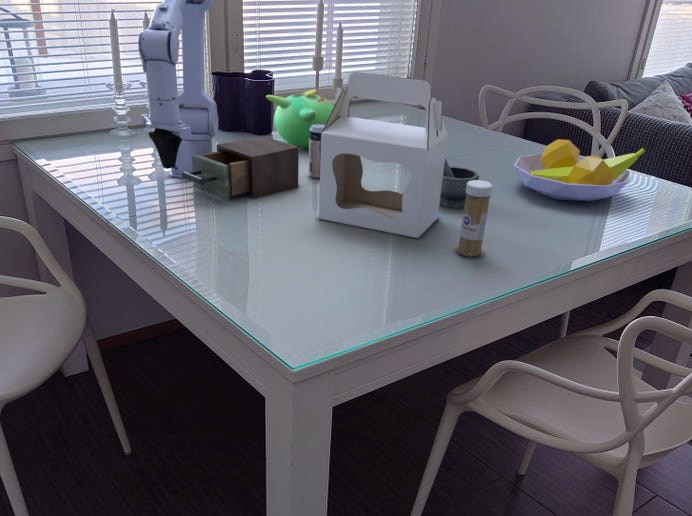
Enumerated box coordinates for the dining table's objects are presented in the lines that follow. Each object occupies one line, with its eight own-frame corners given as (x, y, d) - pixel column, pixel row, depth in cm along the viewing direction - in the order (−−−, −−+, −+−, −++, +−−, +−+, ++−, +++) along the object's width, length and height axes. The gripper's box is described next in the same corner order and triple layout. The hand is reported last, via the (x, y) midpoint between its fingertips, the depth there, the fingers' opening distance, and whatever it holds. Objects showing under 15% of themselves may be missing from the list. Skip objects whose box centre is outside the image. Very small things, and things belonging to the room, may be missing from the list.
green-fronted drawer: (207, 204, 146) (205, 170, 142) (176, 191, 152) (173, 157, 149) (269, 189, 156) (269, 156, 152) (237, 177, 163) (236, 145, 159)
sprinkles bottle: (452, 252, 131) (462, 182, 124) (465, 246, 134) (475, 177, 127) (473, 259, 129) (484, 188, 122) (485, 253, 132) (497, 183, 125)
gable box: (438, 218, 147) (456, 78, 132) (419, 239, 136) (436, 88, 122) (342, 200, 154) (349, 65, 139) (317, 218, 144) (321, 74, 129)
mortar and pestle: (477, 200, 158) (485, 146, 152) (471, 212, 151) (479, 157, 144) (429, 193, 161) (434, 141, 155) (420, 205, 153) (426, 151, 147)
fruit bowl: (504, 201, 158) (512, 151, 152) (519, 170, 180) (527, 125, 174) (633, 220, 151) (647, 168, 145) (633, 186, 173) (645, 139, 167)
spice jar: (325, 180, 167) (327, 128, 160) (306, 178, 167) (307, 127, 161) (329, 174, 171) (331, 124, 164) (311, 172, 171) (312, 122, 165)
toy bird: (348, 146, 194) (351, 91, 186) (314, 159, 182) (316, 100, 174) (295, 135, 202) (296, 82, 194) (260, 147, 190) (259, 90, 182)
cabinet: (253, 198, 153) (252, 157, 148) (218, 184, 160) (216, 144, 156) (298, 186, 162) (298, 147, 157) (263, 173, 169) (262, 135, 164)
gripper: (125, 93, 137) (132, 162, 144) (166, 106, 128) (172, 179, 135) (155, 90, 141) (161, 157, 148) (198, 102, 133) (202, 172, 140)
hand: (169, 167), depth 142 cm, fingers closed
